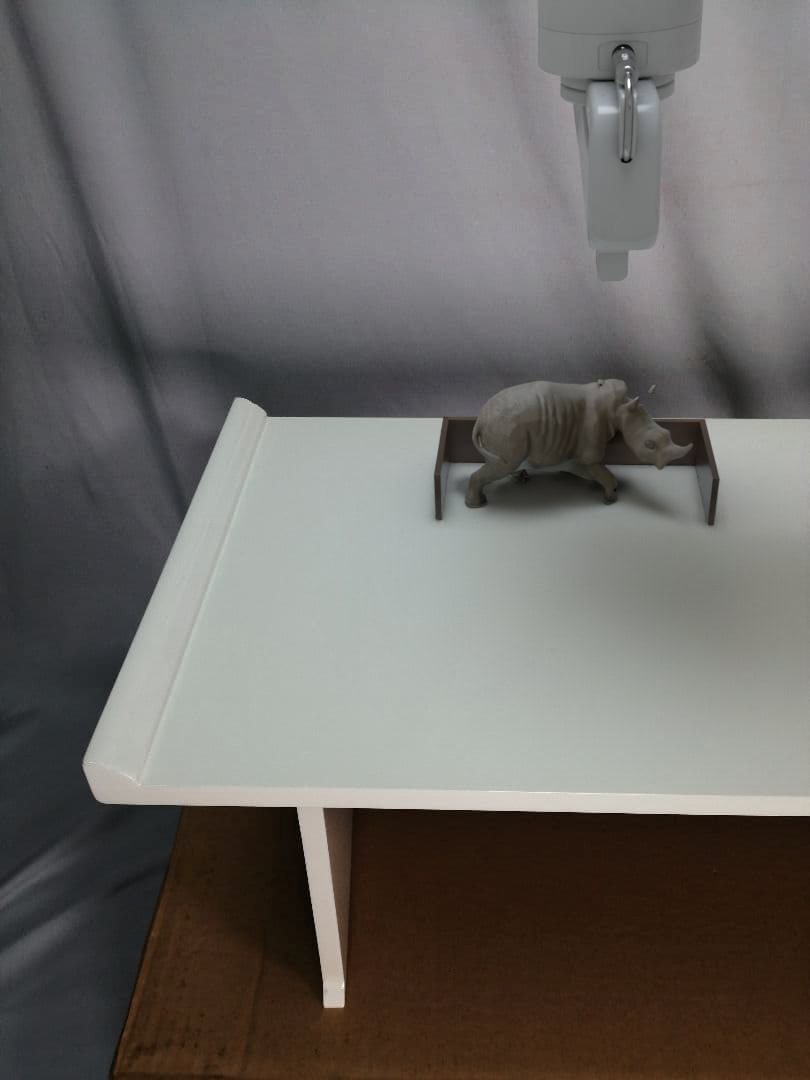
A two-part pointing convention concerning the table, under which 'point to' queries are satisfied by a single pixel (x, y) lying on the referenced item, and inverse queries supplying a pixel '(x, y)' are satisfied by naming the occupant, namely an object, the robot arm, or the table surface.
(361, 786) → the table surface
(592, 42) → the robot arm
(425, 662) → the table surface
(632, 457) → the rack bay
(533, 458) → the rhinoceros figurine
